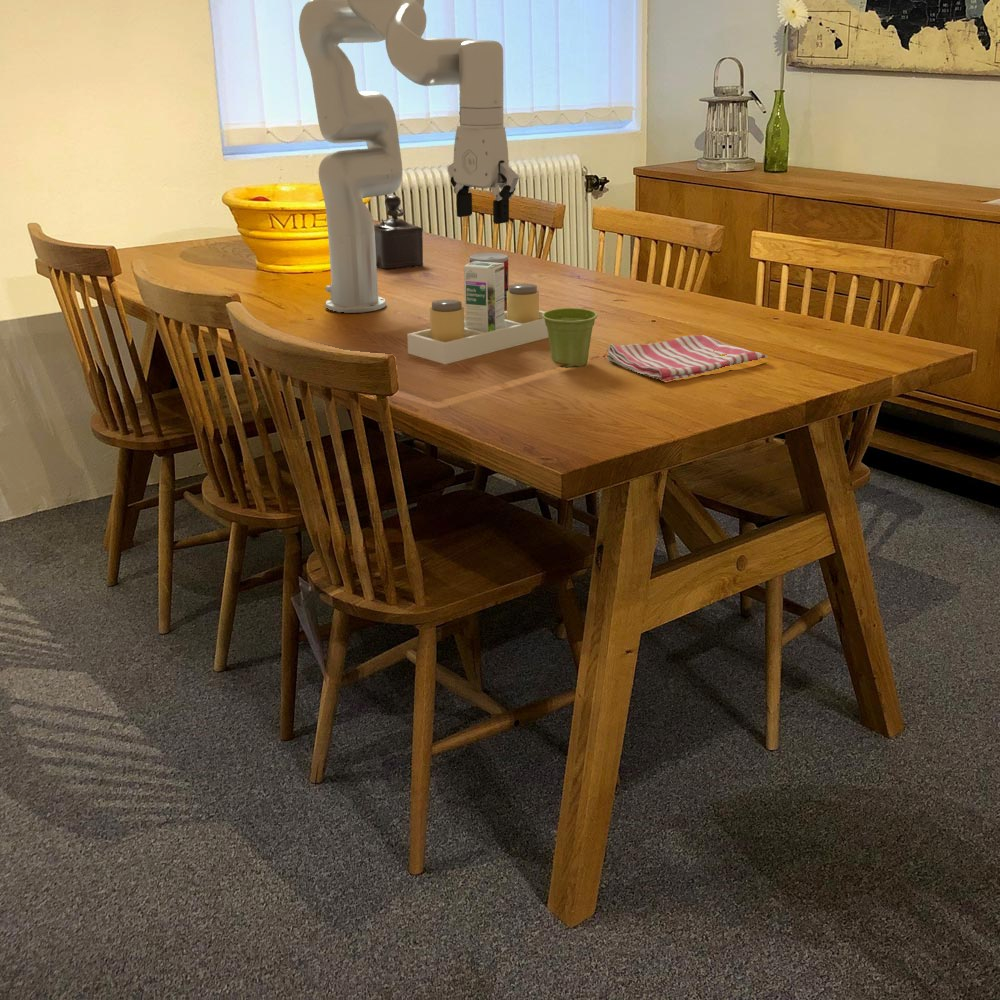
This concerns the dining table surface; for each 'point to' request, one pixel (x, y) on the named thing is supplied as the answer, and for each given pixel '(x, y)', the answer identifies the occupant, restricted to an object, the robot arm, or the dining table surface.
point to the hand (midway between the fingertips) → (482, 219)
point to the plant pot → (569, 334)
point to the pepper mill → (397, 239)
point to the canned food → (494, 259)
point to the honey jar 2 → (522, 303)
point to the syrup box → (484, 296)
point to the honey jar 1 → (447, 320)
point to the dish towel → (679, 357)
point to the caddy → (476, 341)
